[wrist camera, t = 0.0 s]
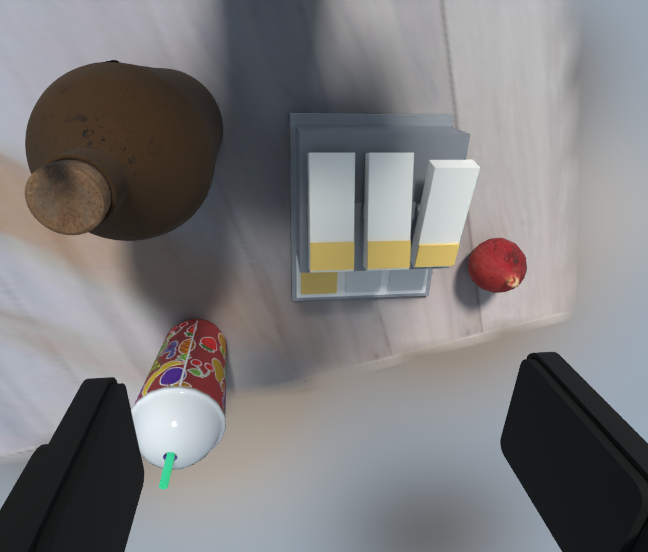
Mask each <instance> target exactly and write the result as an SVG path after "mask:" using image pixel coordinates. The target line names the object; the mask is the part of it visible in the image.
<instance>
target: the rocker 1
mask: <svg viewBox="0 0 648 552" xmlns="http://www.w3.org/2000/svg"><path fill="white" fill-rule="evenodd" d="M307 172H308V205H307V218H308V253H309V270H310V273H311V272H341V271H354V201H355V153H307Z"/></svg>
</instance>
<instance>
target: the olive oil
mask: <svg viewBox="0 0 648 552" xmlns="http://www.w3.org/2000/svg"><path fill="white" fill-rule="evenodd" d="M222 133H223V125H222V118H221V114H220V111H219V108H218V105H217V103H216V101H215V100H214V98H213V96H212V95H211V94H210V92H209V91H208V90H207V89H206V88H205V87H204V86H203V85H202V84H201V83H200V82H199V81H197V80H196V79H195V78H193V77H191V76H189V75H187V74H185V73H183V72H180V71H177V70H173V69H164V68H151V67H144V66H138V65H132V64H126V63H120V62H118V61H116V60H111V61H106V62H101V63H93V64H89V65H85V66H82V67H79V68H76V69H74V70H72V71H69V72H68V73H66V74H64V75H63V76H61V77H60V78H58V79H57V80H56V81H54V82H53V83H52V84H51V85H50V86H49V87H48V88H47V89H46V90H45V91H44V93H43V94H42V95H41V97H40V98H39V100H38V101H37V103H36V105H35V107H34V109H33V111H32V113H31V115H30V118H29V121H28V125H27V130H26V141H25V146H26V156H27V162H28V165H29V169H30V172H31V174H32V175H31V176H30V177H29V179H28V181H27V183H26V187H25V199H26V203H27V205H28V208H29V210H30V211H31V213H32V214H33V216H34V217H35V218H36V219H37V220H38V221H39V222H40V223H41V224H42V225H44V226H45V227H47V228H48V229H50V230H52V231H54V232H57V233H60V234H65V235H79V234H84V233H87V232H89V233H91V234H94V235H97V236H100V237H104V238H108V239H113V240H123V241H135V240H144V239H149V238H153V237H157V236H160V235H163V234H165V233H168V232H170V231H172V230H174V229H176V228H177V227H179V226H181V225H182V224H183V223H185V222H186V221H187V220H188V219H190V218H191V217H192V216H193V215H194V214H195V212H196V211H197V210H198V209H199V207H200V206H201V205H202V203H203V201H204V200H205V198H206V196H207V194H208V191H209V189H210V186H211V183H212V179H213V174H214V168H215V163H216V158H217V154H218V150H219V147H220V144H221V140H222Z"/></svg>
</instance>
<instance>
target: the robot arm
mask: <svg viewBox="0 0 648 552" xmlns="http://www.w3.org/2000/svg"><path fill="white" fill-rule="evenodd" d="M500 442H501V449H502V452H503V454H504V456H505V458H506V460H507V461H508V463H509V465H510V466H511V468H512V469H513V471H514V473H515V474H516V476H517V478H518V479H519V481H520V483H521V484H522V486H523V488H524V489H525V491H526V492H527V494H528V496H529V497H530V499H531V501H532V503H533V504H534V506H535V507H536V509H537V511H538V512H539V514H540V516H541V517H542V519H543V520H544V522H545V524H546V526H547V527H548V529H549V530H550V532H551V534H552V536H553V537H554V539H555V541H556V542H557V544H558V545H559V547H560V549H561V550H562V552H648V443H647V442H646V441H645V440H644V439H643V438H642V437H640V436H639V434H638V433H637V432H636V431H635V430H634V429H633V428H632V427H631V426H630V425H629V424H628V423H627V422H626V421H625V420H624V419H623V418H622V417H621V416H620V415H619V414H618V413H617V412H616V411H615V410H614V409H613V408H612V407H611V406H610V405H609V404H608V403H607V402H606V401H605V400H604V399H603V398H602V397H601V396H600V395H599V394H598V393H597V392H596V391H595V390H594V389H593V388H592V387H591V386H590V385H589V384H588V383H587V382H586V381H585V380H584V379H583V378H582V377H581V376H580V375H579V374H578V373H577V372H576V371H575V370H574V369H573V368H572V367H571V366H570V365H569V364H568V363H567V362H566V361H565V360H564V359H563V358H562V357H561V356H560V355H559V354H557V353H556V352H540V353H531V354H529V355H528V356H527V359H525V360H523V361H522V363H521V365H520V368H519V372H518V376H517V380H516V384H515V388H514V391H513V395H512V398H511V402H510V406H509V410H508V414H507V417H506V421H505V425H504V428H503V432H502V436H501V441H500ZM143 482H144V467H143V463H142V458H141V454H140V449H139V444H138V440H137V435H136V431H135V426H134V422H133V417H132V413H131V408H130V404H129V399H128V394H127V390H126V386H125V385H124V384H123V383H122V384H118V383H117V380H116V379H115V378H113V377H110V378H93V379H86V380H84V382H83V383H82V385H81V386H80V388H79V390H78V392H77V394H76V395H75V397H74V399H73V401H72V403H71V404H70V406H69V408H68V410H67V412H66V413H65V415H64V417H63V419H62V421H61V422H60V424H59V426H58V428H57V430H56V431H55V433H54V435H53V437H52V439H51V440H50V442H49V444H44V445H41V446H40V447H38V448H37V449H36V451H35V452H34V453H33V455H32V456H31V458H30V460H29V461H28V463H27V465H26V467H25V468H24V470H23V472H22V473H21V475H20V477H19V479H18V480H17V482H16V484H15V485H14V487H13V489H12V491H11V492H10V494H9V496H8V498H7V499H6V501H5V503H4V504H3V506H2V508H1V510H0V552H124V551H125V547H126V544H127V540H128V536H129V533H130V530H131V526H132V523H133V519H134V515H135V511H136V508H137V505H138V501H139V497H140V494H141V490H142V487H143Z"/></svg>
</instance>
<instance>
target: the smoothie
mask: <svg viewBox="0 0 648 552" xmlns="http://www.w3.org/2000/svg"><path fill="white" fill-rule="evenodd" d="M226 355H227V345H226V339H225V337H224V335H223V334H222V332H221V331H220V330H219V329H218V328H217V327H216V326H215V325H214V324H213V323H211V322H209V321H207V320H203V319H190V320H187V321H184V322H182V323H180V324H178V325H176V326H175V327H174V328H172V329H171V330H170V332H169V333H168V335H167V336H166V339H165V341H164V343H163V345H162V347H161V349H160V351H159V353H158V356H157V358H156V360H155V362H154V364H153V366H152V368H151V370H150V373H149V375H148V377H147V379H146V381H145V383H144V385H143V388H142V390H141V392H140V394H139V396H138V398H137V400H136V402H135V405H134V407H133V408H132V410H131V413H132V417H133V422H134V426H135V431H136V435H137V440H138V444H139V449H140V454H141V455H142V457H143V458H144V459H146V460H147V461H148V462H150V463H151V464H152V465H154V466H157V467H159V468H162V469H163V472H162V477H161V480H160V484H159V487H160V488H161V489H166V488H167V487H168V483H169V479H170V475H171V470H173V469H182V468H185V467H188V466H191V465H193V464H195V463H196V462H198V461H200V460H201V459H202V458H204V457H205V456H206V455H207V454H208V453H209V451H210V450H211V449H213V448H214V447H215V446H216V445H217V444H218V442H219V441H220V440H221V439H222V437H223V434H224V431H225V428H226V424H225V404H226Z"/></svg>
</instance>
